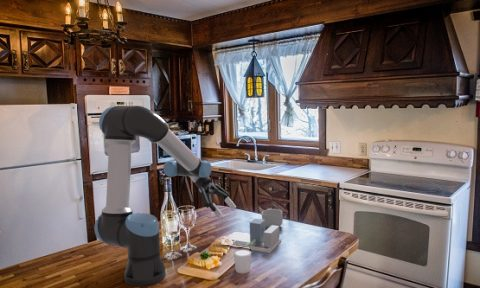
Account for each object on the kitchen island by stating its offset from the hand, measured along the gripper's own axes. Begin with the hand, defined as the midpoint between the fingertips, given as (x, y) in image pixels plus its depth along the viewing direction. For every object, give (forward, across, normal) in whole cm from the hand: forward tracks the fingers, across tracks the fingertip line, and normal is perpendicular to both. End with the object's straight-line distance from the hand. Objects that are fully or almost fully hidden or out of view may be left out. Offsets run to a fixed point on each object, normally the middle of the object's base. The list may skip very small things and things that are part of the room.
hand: (227, 212), depth 175 cm
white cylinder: (+25, +27, +6) cm, 37 cm away
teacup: (+18, -25, 0) cm, 30 cm away
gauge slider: (+19, +3, +4) cm, 20 cm away
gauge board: (+18, +1, 0) cm, 18 cm away
